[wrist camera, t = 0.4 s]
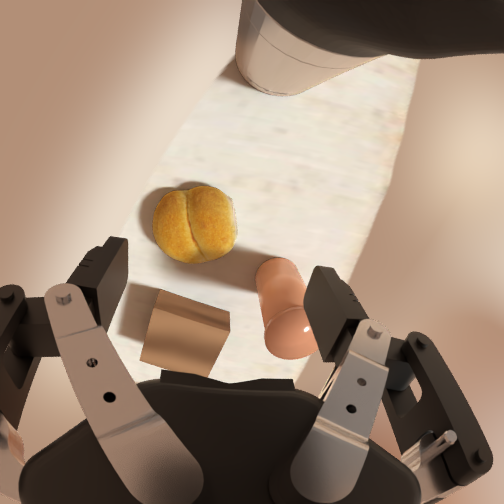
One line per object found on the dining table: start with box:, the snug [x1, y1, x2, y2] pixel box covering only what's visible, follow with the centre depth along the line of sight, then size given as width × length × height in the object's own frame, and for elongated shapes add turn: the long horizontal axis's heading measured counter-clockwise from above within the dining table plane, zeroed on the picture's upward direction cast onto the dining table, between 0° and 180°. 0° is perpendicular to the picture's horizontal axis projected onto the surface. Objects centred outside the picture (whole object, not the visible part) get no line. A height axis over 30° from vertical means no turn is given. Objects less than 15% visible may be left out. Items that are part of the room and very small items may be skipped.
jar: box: [255, 258, 319, 360], centre depth 29 cm, size 6×6×11 cm
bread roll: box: [152, 186, 238, 264], centre depth 29 cm, size 8×9×4 cm
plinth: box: [140, 289, 230, 377], centre depth 34 cm, size 9×9×4 cm
